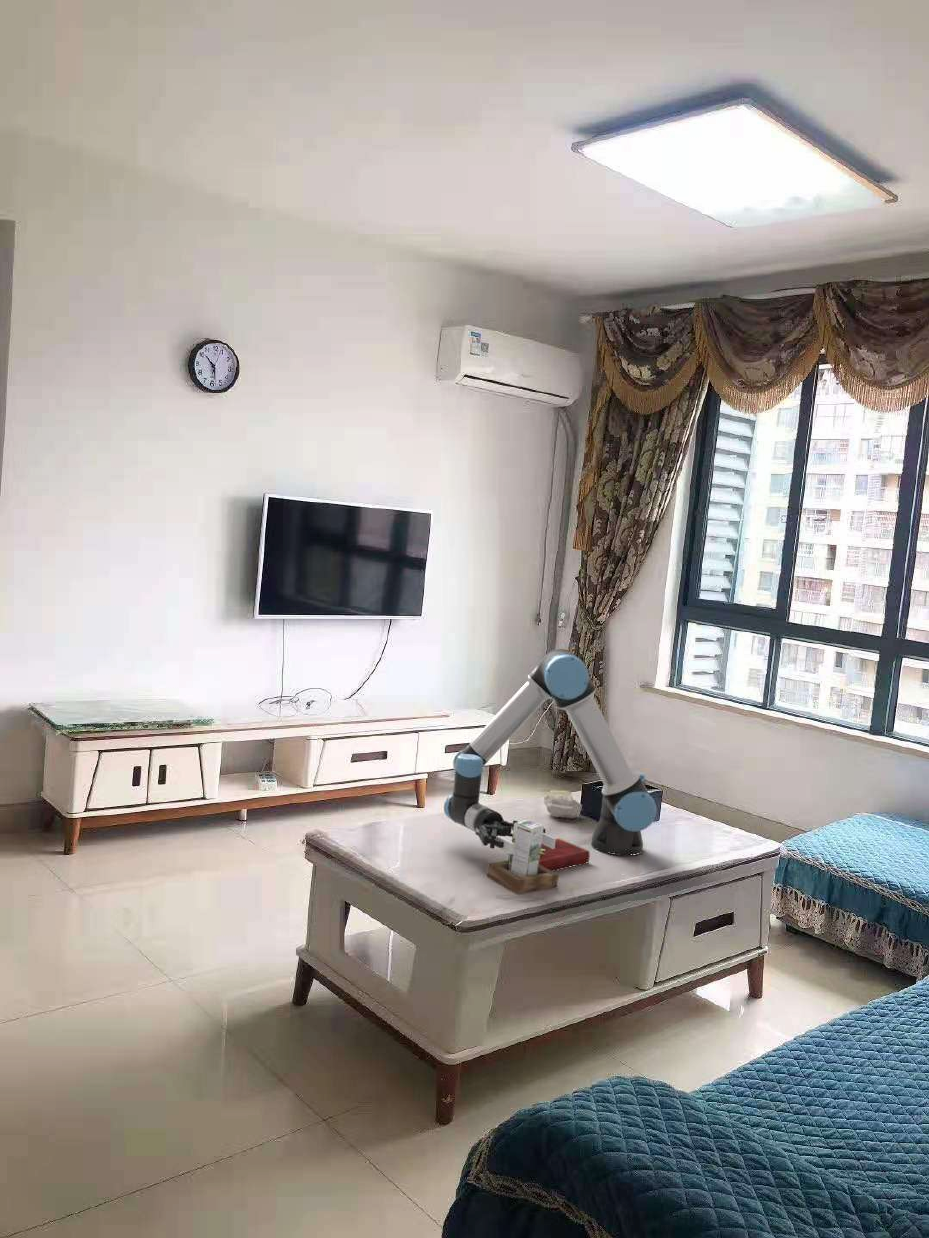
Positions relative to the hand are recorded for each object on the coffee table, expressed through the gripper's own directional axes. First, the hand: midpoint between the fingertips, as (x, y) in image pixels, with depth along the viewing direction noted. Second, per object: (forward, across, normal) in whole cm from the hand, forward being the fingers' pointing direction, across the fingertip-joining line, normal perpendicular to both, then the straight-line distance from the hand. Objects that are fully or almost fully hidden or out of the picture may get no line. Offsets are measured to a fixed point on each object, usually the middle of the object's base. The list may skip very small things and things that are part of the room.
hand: (533, 846), depth 262 cm
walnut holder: (-3, 0, -10) cm, 11 cm away
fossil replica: (-46, -51, -11) cm, 70 cm away
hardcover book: (-13, -17, -11) cm, 24 cm away
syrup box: (-3, 0, -10) cm, 10 cm away
